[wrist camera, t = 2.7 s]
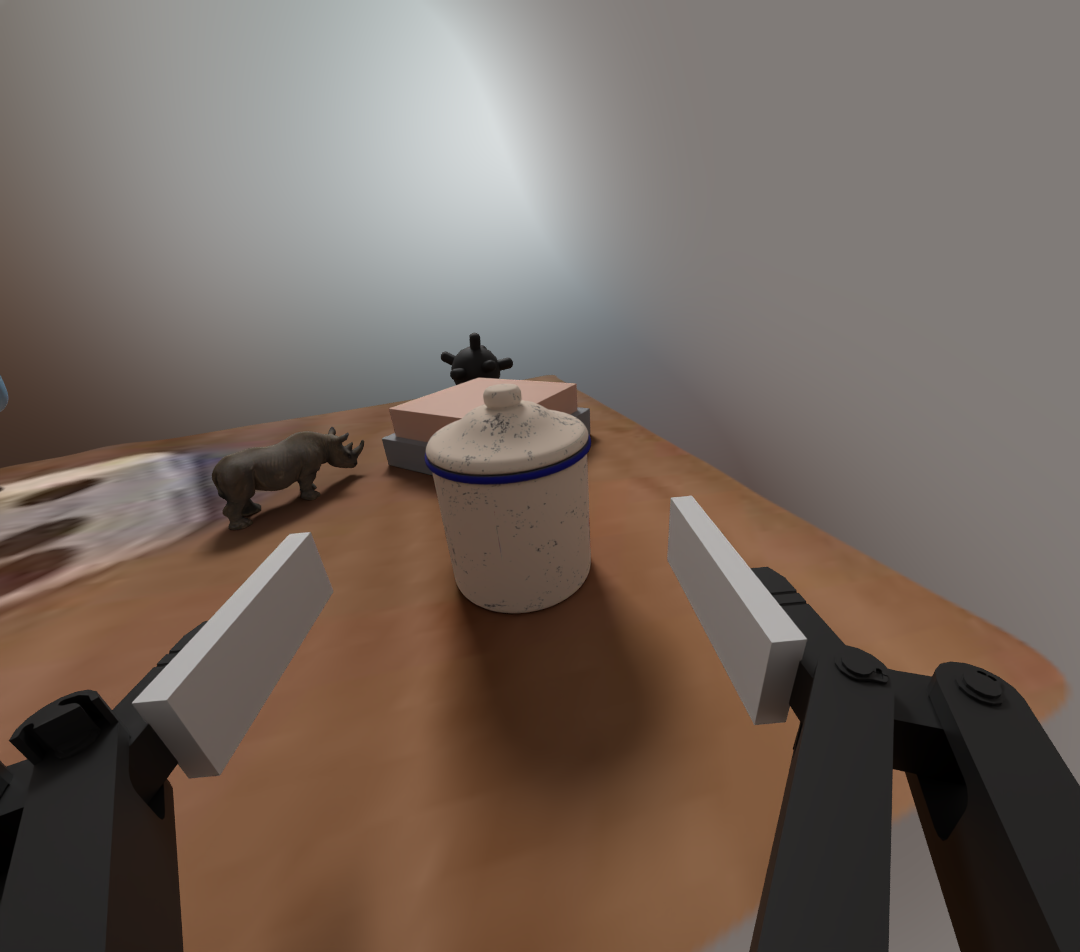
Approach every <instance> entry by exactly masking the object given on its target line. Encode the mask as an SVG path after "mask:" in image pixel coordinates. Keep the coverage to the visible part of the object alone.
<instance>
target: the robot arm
mask: <svg viewBox="0 0 1080 952" xmlns="http://www.w3.org/2000/svg"><path fill="white" fill-rule="evenodd" d="M7 403H8V393H7V390H6V387H5V385H4V382H3V380H2V378H1V375H0V412H1V411H2V410H3V409H4V408H5V406H6V405H7ZM667 560H668V562H669V564H670V566H671V568H672V570H673V571H674V573H675V575H676V577H677V579H678V581H679V583H680V585H681V587H682V588H683V590H684V592H685V594H686V596H687V598H688V600H689V602H690V604H691V606H692V607H693V609H694V611H695V613H696V615H697V617H698V619H699V621H700V623H701V625H702V626H703V628H704V630H705V632H706V634H707V636H708V638H709V640H710V642H711V643H712V645H713V647H714V649H715V651H716V653H717V655H718V657H719V659H720V661H721V662H722V664H723V666H724V668H725V670H726V672H727V674H728V676H729V678H730V680H731V681H732V683H733V685H734V687H735V689H736V691H737V693H738V695H739V697H740V698H741V700H742V702H743V704H744V706H745V708H746V710H747V712H748V714H749V716H750V717H751V719H752V721H753V723H754V725H759V724H770V723H780V722H786V719H787V715H788V711H789V707H790V706H791V708H792V709H793V711H794V713H795V714H796V716H797V717H798V719H799V720H800V725H799V729H798V732H797V736H796V739H795V743H794V746H793V750H794V751H793V756H792V760H791V765H790V769H789V774H788V778H787V783H786V787H785V792H784V796H783V801H782V806H781V810H780V815H779V819H778V824H777V828H776V833H775V837H774V842H773V846H772V851H771V855H770V860H769V864H768V869H767V874H766V878H765V883H764V887H763V892H762V896H761V901H760V905H759V910H758V914H757V919H756V923H755V928H754V932H753V937H752V942H751V946H750V951H749V952H888V946H889V945H888V944H889V905H890V904H889V903H890V859H891V857H890V856H891V817H892V773H893V769H896V770H900V771H904V772H905V774H906V777H907V780H908V783H909V786H910V790H911V793H912V796H913V799H914V803H915V806H916V809H917V812H918V816H919V819H920V822H921V825H922V828H923V831H924V835H925V838H926V841H927V844H928V848H929V851H930V854H931V857H932V860H933V864H934V867H935V870H936V873H937V877H938V880H939V883H940V886H941V890H942V893H943V896H944V899H945V903H946V906H947V909H948V912H949V916H950V919H951V922H952V925H953V928H954V932H955V934H956V938H957V941H958V944H959V948H960V951H961V952H1080V786H1079V784H1078V783H1077V781H1076V779H1075V778H1074V776H1073V775H1072V773H1071V772H1070V770H1069V768H1068V767H1067V765H1066V764H1065V762H1064V761H1063V759H1062V757H1061V756H1060V754H1059V753H1058V751H1057V750H1056V748H1055V746H1054V745H1053V743H1052V742H1051V740H1050V739H1049V737H1048V735H1047V734H1046V732H1045V731H1044V729H1043V728H1042V726H1041V724H1040V723H1039V721H1038V720H1037V718H1036V717H1035V715H1034V713H1033V712H1032V710H1031V709H1030V707H1029V706H1028V704H1027V702H1026V701H1025V699H1024V698H1023V697H1022V696H1021V695H1020V694H1019V693H1018V692H1017V690H1016V689H1015V688H1014V687H1012V686H1011V685H1010V684H1008V683H1007V682H1005V681H1004V680H1003V679H1001V678H1000V677H998V676H996V675H994V674H992V673H990V672H988V671H986V670H984V669H982V668H979V667H976V666H973V665H969V664H966V663H959V662H947V663H942V664H940V665H939V666H938V667H937V668H936V670H935V672H934V674H933V676H932V677H931V676H925V675H919V674H913V673H907V672H901V671H895V670H891V669H887V667H886V666H885V665H884V664H883V663H882V662H881V661H879V660H878V659H877V658H875V657H874V656H872V655H871V654H869V653H867V652H865V651H863V650H860V649H858V648H855V647H851V646H847V645H845V644H844V643H843V642H842V641H841V640H840V639H839V637H838V636H837V635H836V634H835V633H834V632H833V631H832V630H831V628H830V627H829V626H828V625H827V624H826V623H825V622H824V621H823V620H822V618H821V617H820V616H819V615H818V614H817V613H816V612H815V611H814V610H813V608H812V607H811V606H810V605H809V604H807V603H806V601H805V600H804V598H803V597H802V596H801V595H800V594H799V593H797V592H796V589H795V588H794V587H793V586H792V585H791V584H790V583H789V582H788V581H787V579H786V578H785V577H783V576H782V575H780V574H778V573H777V572H775V571H774V570H772V569H770V568H769V567H760V568H749V566H748V565H747V564H746V563H745V561H744V560H743V559H742V558H741V556H740V555H739V554H738V553H737V551H736V550H735V549H734V548H733V546H732V545H731V544H730V543H729V541H728V540H727V539H726V538H725V536H724V535H723V534H722V533H721V531H720V530H719V529H718V528H717V526H716V525H715V524H714V523H713V522H712V520H711V519H710V518H709V517H708V515H707V514H706V513H705V512H704V510H703V509H702V508H701V507H700V505H699V504H698V503H697V502H696V500H695V499H694V498H693V497H692V496H684V497H674V498H671V503H670V521H669V539H668V557H667ZM332 593H333V589H332V587H331V584H330V581H329V579H328V576H327V574H326V571H325V568H324V566H323V563H322V561H321V558H320V555H319V553H318V550H317V548H316V545H315V542H314V540H313V537H312V535H311V532H307V533H297V534H289V535H288V536H287V538H286V539H285V540H284V541H283V542H282V543H281V544H280V545H279V546H278V547H277V548H276V549H275V550H274V551H273V552H272V554H271V555H270V556H269V557H268V558H267V559H266V560H265V561H264V562H263V563H262V564H261V565H260V566H259V567H258V569H257V570H256V571H255V572H254V573H253V574H252V575H251V576H250V577H249V578H248V579H247V580H246V581H245V582H244V583H243V585H242V586H241V587H240V588H239V589H238V590H237V591H236V592H235V593H234V594H233V595H232V596H231V597H230V598H229V600H228V601H227V602H226V603H225V604H224V605H223V606H222V607H221V608H220V609H219V610H218V611H217V612H216V613H215V615H214V616H213V617H212V618H211V619H210V620H209V621H204V622H203V623H201V624H200V625H199V626H197V627H196V628H194V629H193V630H192V631H190V632H189V633H187V634H186V635H185V636H183V638H182V639H181V640H180V641H179V642H178V643H177V644H176V645H175V646H174V647H173V648H172V649H171V650H170V651H169V654H166V655H165V656H164V657H163V658H162V659H161V660H160V661H159V662H158V663H157V667H154V668H153V669H152V670H151V671H150V672H149V673H148V674H147V675H146V676H145V677H144V678H143V679H142V680H141V681H140V682H139V683H138V684H137V685H136V686H135V687H134V688H133V689H132V690H131V691H130V692H129V693H128V695H127V696H126V697H125V698H124V699H123V700H122V701H121V702H120V703H119V704H118V705H117V706H116V707H115V708H114V709H113V710H111V709H110V707H109V706H108V705H107V704H106V702H105V701H104V700H103V699H102V698H101V696H100V695H99V694H98V693H97V691H92V690H84V691H78V692H74V693H72V694H69V695H67V696H64V697H61V698H59V699H57V700H56V701H54V702H52V703H50V704H48V705H46V706H45V707H43V708H42V709H40V710H39V711H37V712H36V713H35V714H33V715H32V716H30V717H29V718H28V719H27V720H25V721H24V722H23V723H22V724H21V725H20V726H19V727H18V728H17V729H16V730H15V732H14V733H13V735H12V737H11V738H10V740H9V741H10V742H11V743H12V744H13V745H14V746H15V747H16V748H17V749H18V750H19V751H20V752H21V753H22V754H23V755H24V756H25V757H26V758H27V760H24V761H21V762H18V763H16V764H13V765H10V766H7V767H6V766H5V765H4V764H3V763H2V762H1V761H0V952H183V937H182V922H181V907H180V892H179V876H178V861H177V846H176V831H175V816H174V800H173V788H172V786H171V784H170V782H169V781H168V780H167V778H168V776H169V775H170V773H171V772H172V771H173V769H174V768H175V767H176V765H177V764H178V765H179V766H180V767H181V769H182V770H183V771H184V773H185V774H186V775H187V777H188V778H198V777H208V776H219V775H221V773H222V771H223V770H224V768H225V766H226V765H227V763H228V762H229V760H230V758H231V757H232V755H233V754H234V752H235V750H236V749H237V747H238V745H239V744H240V742H241V741H242V739H243V737H244V736H245V734H246V732H247V731H248V729H249V728H250V726H251V724H252V723H253V721H254V720H255V718H256V716H257V715H258V713H259V711H260V710H261V708H262V707H263V705H264V703H265V702H266V700H267V698H268V697H269V695H270V694H271V692H272V690H273V689H274V687H275V685H276V684H277V682H278V681H279V679H280V677H281V676H282V674H283V673H284V671H285V669H286V668H287V666H288V664H289V663H290V661H291V660H292V658H293V656H294V655H295V653H296V651H297V650H298V648H299V647H300V645H301V643H302V642H303V640H304V638H305V637H306V635H307V634H308V632H309V630H310V629H311V627H312V626H313V624H314V622H315V621H316V619H317V617H318V616H319V614H320V613H321V611H322V609H323V608H324V606H325V604H326V603H327V601H328V600H329V598H330V596H331V595H332Z"/></svg>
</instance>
